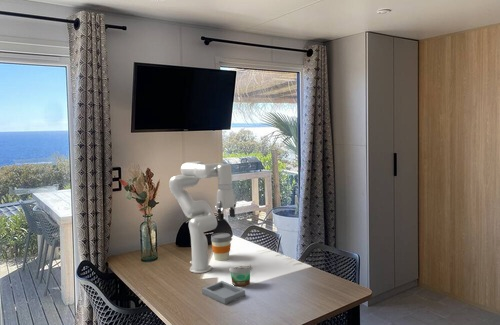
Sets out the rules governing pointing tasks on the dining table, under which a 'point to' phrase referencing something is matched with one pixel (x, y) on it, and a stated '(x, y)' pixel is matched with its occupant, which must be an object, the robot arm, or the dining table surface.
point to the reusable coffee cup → (221, 246)
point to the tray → (223, 292)
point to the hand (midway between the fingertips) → (226, 218)
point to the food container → (240, 275)
